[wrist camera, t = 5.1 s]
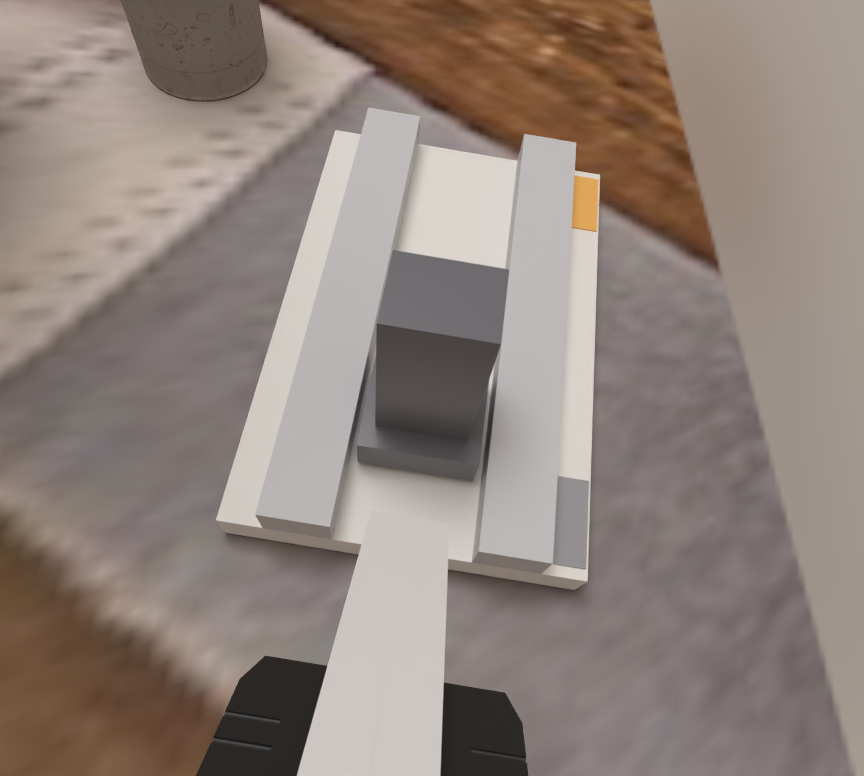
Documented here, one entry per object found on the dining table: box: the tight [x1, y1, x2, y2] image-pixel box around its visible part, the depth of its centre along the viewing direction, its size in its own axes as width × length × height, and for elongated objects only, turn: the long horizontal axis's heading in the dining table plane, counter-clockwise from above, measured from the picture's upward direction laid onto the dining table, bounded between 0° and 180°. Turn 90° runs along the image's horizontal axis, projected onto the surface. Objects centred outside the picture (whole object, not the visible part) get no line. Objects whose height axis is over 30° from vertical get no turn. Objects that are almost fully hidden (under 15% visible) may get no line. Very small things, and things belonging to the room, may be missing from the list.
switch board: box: [216, 108, 600, 590], centre depth 33 cm, size 24×16×4 cm, turn 172°
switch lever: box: [357, 250, 509, 481], centre depth 26 cm, size 5×5×10 cm
